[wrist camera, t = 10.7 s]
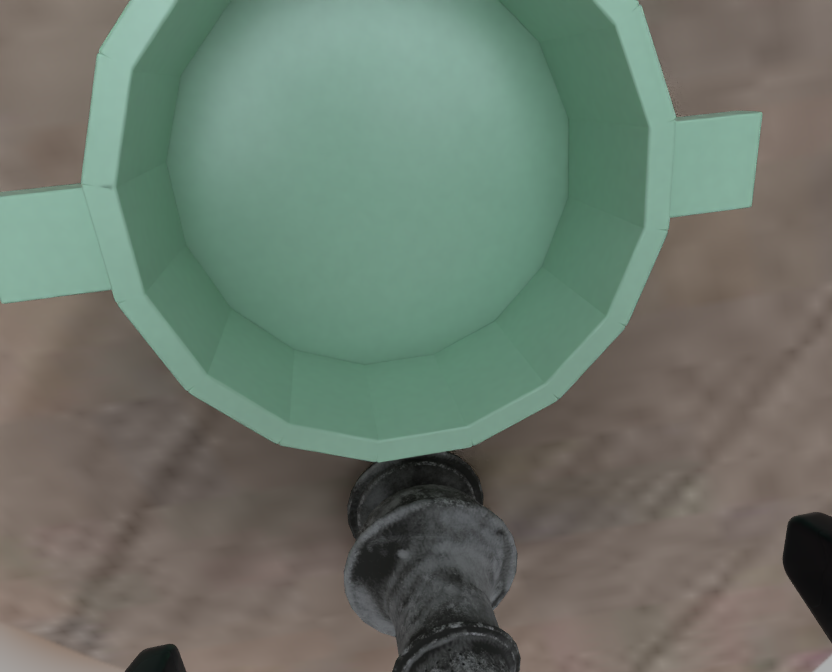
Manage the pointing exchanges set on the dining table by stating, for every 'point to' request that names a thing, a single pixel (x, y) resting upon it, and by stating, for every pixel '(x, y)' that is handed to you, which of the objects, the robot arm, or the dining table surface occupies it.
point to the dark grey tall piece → (431, 565)
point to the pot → (376, 206)
